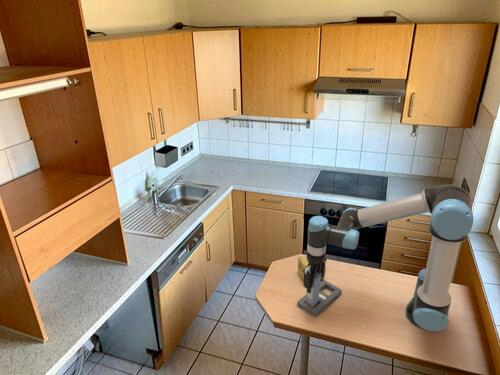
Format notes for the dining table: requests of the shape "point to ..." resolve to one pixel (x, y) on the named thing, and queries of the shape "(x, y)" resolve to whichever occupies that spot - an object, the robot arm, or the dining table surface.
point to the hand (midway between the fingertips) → (312, 294)
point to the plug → (314, 290)
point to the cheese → (304, 266)
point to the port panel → (320, 299)
